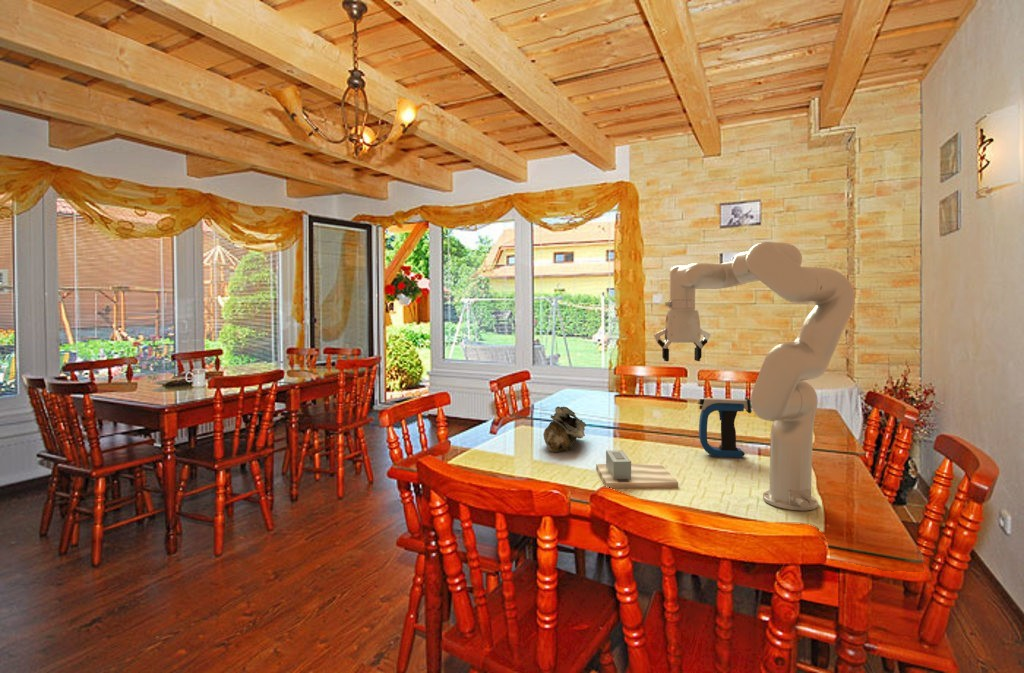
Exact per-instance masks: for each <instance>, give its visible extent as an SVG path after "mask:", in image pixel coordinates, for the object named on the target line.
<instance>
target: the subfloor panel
mask: <svg viewBox="0 0 1024 673" xmlns="http://www.w3.org/2000/svg"><path fill="white" fill-rule="evenodd" d="M595 469H596V471H597V474H598V475H599V476H600V479H601V482H603V484H604V486H607V487H610V488H609V489H645V488H646V489H652V488H653V489H657V488H658V489H659V488H661V489H662V488H663V489H667V488H669V489H670V488H673V489H674V488H675V489H676V488H677V489H678V488H679V482H678V480H677V479H676V477H674V476H673V474H671V473H670V472H669V471H668V470H667V469H666V467H664V466H663V465H662V463H657V462H655V463H654V462H653V463H631V479H613V477H612V476H611V474H610V472H609V471H608V469H607V467H606V463H596V464H595Z"/></svg>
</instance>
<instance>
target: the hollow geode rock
mask: <svg viewBox="0 0 1024 673" xmlns="http://www.w3.org/2000/svg"><path fill="white" fill-rule="evenodd" d="M550 419H552V421H551V422H550V423H549V425H547V427H546V428H545V429H544V431H543V433H542V434H543V440H544V443H545V444H546V446H547V448H548V450H549V452H551V453H557V452H559V453H560V452H562V451H566V452H569V451H570V449H571V447H572V445H573V444H574V442H575V441H577V439H583V437H585V436H586V435H585V430H586V429H585V427H587V423H585V422H584V421H583V420H582V419H580V418H578V417H577V416H576V413H575V412H574V411H573V410H571V409H570V408H569V407H566V406H556V407H555V410H554V415H552V414H551V415H550Z"/></svg>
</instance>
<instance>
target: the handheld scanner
mask: <svg viewBox="0 0 1024 673" xmlns="http://www.w3.org/2000/svg"><path fill="white" fill-rule="evenodd" d="M699 410H701V411H700V415H699V421H698V423H699V424H698V436H699V437H698V438H699V441H700V442H699V443H700V444H701V446H702V448H703V450H704V451H705V452H706V453H707V454H708V455H710V456H711V457H715V458H725V459H726V458H727V459H728V458H731V459H743V458H744V457H745V455H746V454H745V451H744V450H742V449H741V448H739V447H737V431H736V427H735V420H736V418H737V414H738V412H744V411H746V412H747V413H748V414H752V411H753V409H752V406H751V398H749V397H745V398H742V399H741V398H717V397H714V398H713V397H704V398H700V399H699ZM713 412H718V416H719V421H720V445H719V447H718V446H713V445H710V443H709V442H708V421H709V420H708V419H709V416H710V415H711V414H712V413H713Z"/></svg>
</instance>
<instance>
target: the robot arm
mask: <svg viewBox="0 0 1024 673" xmlns="http://www.w3.org/2000/svg"><path fill="white" fill-rule="evenodd" d="M802 263H803V257H802V252H801V251H800V250H799V248H798V247H796V246H795V245H793V244H791V243H786V242H775V241H762V242H759V243H757V244H754V245H753V246H752V247H751V248H750V249H749V250H747V251H741V252H739V253H737V254H736V255H735V256H734V258H733V260H732V261H728V262H723V263H705V262H704V263H700V262H695V263H690V264H687V265H674V266H673V267H671V268H670V271H669V301H666V302H665V303H664V307H665V308H666V307H668V309H669V310H667V312H666V317H665V324H664V329H663V328H662V329H661V330H659V331H657V332H655V333H654V334H653V337H654V340H655V341H656V343H657V344H658V345H659V346H660V347H661V348H662V356H661V358H662V360H663V361H664V362H669V360H670V349H669V346H670V345H671V344H672V343H675V344H676V343H680V344H681V343H683V344H684V343H688V344H689V343H691V344H693V345H694V346H695V347H694V361H695V362H700V361H701V359H702V354H703V353H702V351H703V350H702V348H704V346H705V345H706V344H708V341H709V340H710V337H711V334H710V333H709V332H708V331H705V330H703V329H701V321H700V314H699V310H697V309H696V290H701V289H702V290H721V289H727V288H733V287H738V286H742V285H746V284H748V283H754V282H759V281H760V282H761V283H763V284H764V285H765V286H766V287H767V288H769V289H770V290H771V291H772V292H773V293H775V294H776V295H777V296H779V297H781V298H782V299H783V300H785V301H788V302H790V303H794V304H814V306H813V308H812V310H811V311H810V312H809V314H808V315H806V318H805V319H804V321H802V322H803V323H802V325H801V328H800V331H799V333H798V335H797V336H796V339H795V340H793V341H788V342H782V343H779V344H777V345H775V346H773V347H772V348H771V349H770V350H769V352H768V353H767V354H766V356H765V358H764V360H763V362H762V364H761V368H760V370H759V373H758V375H757V379H756V380H755V383H754V385H753V388H752V392H751V395H750V401H751V410H752V411H753V412H754V414H755V415H756V416H757V417H758V418H760V419H761V420H763V421H768V422H772V425H771V430H770V441H769V442H770V447H769V448H770V452H769V489H768V490H766V491H764V492H763V493H762V499H763V501H764V502H765V503H767V504H769V505H771V506H773V507H777V508H779V509H784V510H789V511H801V512H802V511H811V510H815V509H817V508H818V507H819V501H818V500H817V498H816V497H814V496H812V479H813V478H812V476H813V475H812V472H813V471H812V470H813V467H812V466H813V441H814V440H813V439H814V437H813V435H814V426H815V425H814V424H815V420H816V419H815V418H816V414H817V410H818V404H819V403H818V395H817V391H816V390H815V388H814V387H813V386H812V385H811V384H810V383H808V382H806V381H810V380H813V379H814V380H815V379H818V378H820V377H821V376H824V374H825V372H826V371H827V369H828V366H829V364H830V362H831V359H832V357H833V355H834V352H835V351H836V348H837V345H838V343H839V342H840V339H841V336H842V334H843V331H844V329H845V327H846V325H847V323H848V322H849V320H850V317H851V316H852V313H853V310H854V306H855V302H856V301H855V290H854V287H853V285H852V284H851V282H850V280H849V279H848V278H847V277H846V276H845V274H843V273H842V272H840V271H837V270H835V269H832V268H829V267H828V268H827V267H810V266H809V267H808V266H807V267H806V266H802ZM701 335H702V336H703V339H701V337H702V336H701ZM662 336H664V341H663V340H662V339H661V337H662Z"/></svg>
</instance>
